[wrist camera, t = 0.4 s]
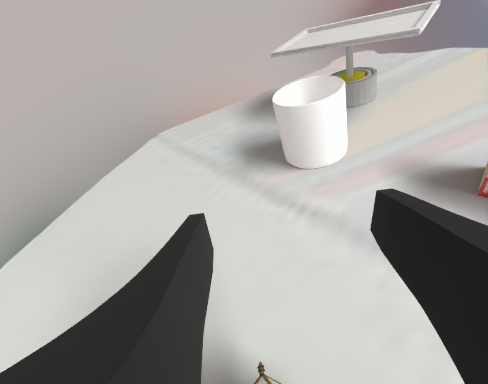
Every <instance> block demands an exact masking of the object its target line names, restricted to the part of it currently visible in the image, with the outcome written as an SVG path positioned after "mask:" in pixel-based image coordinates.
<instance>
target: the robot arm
mask: <svg viewBox="0 0 488 384" xmlns="http://www.w3.org/2000/svg"><path fill="white" fill-rule="evenodd" d="M370 230H371V232H372V234H373V236H374V238H375V240H376V242H377V244H378V245H379V247H380V249H381V251H382V252H383V254H384V255H385V256H386V258H387V259H388V261H389V262H390V263H391V265H392V266H393V268H394V269H395V270H396V272H397V273H398V274H399V276H400V277H401V279H402V280H403V281H404V283H405V284H406V285H407V287H408V288H409V290H410V291H411V292H412V294H413V295H414V296H415V298H416V299H417V301H418V302H419V304H420V305H421V307H422V308H423V310H424V311H425V313H426V315H427V316H428V318H429V320H430V321H431V323H432V325H433V326H434V328H435V330H436V332H437V333H438V335H439V337H440V338H441V340H442V342H443V344H444V346H445V348H446V349H447V351H448V353H449V355H450V357H451V358H452V360H453V362H454V364H455V366H456V367H457V369H458V371H459V373H460V375H461V377H462V379H463V381H464V383H465V384H488V226H487V225H484V224H482V223H479V222H476V221H473V220H471V219H468V218H465V217H463V216H460V215H457V214H455V213H452V212H450V211H447V210H445V209H442V208H440V207H437V206H435V205H433V204H430V203H428V202H425V201H423V200H421V199H418V198H416V197H413V196H411V195H408V194H406V193H403V192H400V191H398V190H395V189H385V190H377V191H376V197H375V204H374V210H373V216H372V223H371V229H370ZM212 273H213V246H212V242H211V238H210V235H209V231H208V227H207V223H206V220H205V216H204V213H201V214H193V215H189V216H188V218H187V219H186V220H185V221H184V222H183V224H182V225H181V226H180V227H179V229H178V230H177V231H176V232H175V234H174V235H173V236H172V237H171V238H170V240H169V241H168V242H167V243H166V244H165V245H164V247H163V248H162V249H161V250H160V251H159V252H158V253H157V254H156V255H155V256H154V257H153V259H152V260H151V261H150V262H149V263H148V264H147V265H146V266H145V267H144V268H143V269H142V270H141V271H140V272H139V273H138V274H137V275H136V276H135V277H134V278H133V279H131V280H130V281H129V282H128V283H127V284H126V285H125V286H124V287H123V288H121V289H120V290H119V291H118V292H117V293H115V294H114V295H113V296H112V297H110V298H109V299H108V300H107V301H106V302H104V303H103V304H102V305H101V306H99V307H98V308H97V309H96V310H94V311H93V312H92V313H90V314H89V315H88V316H86V317H85V318H84V319H82V320H81V321H79V322H78V323H77V324H75V325H74V326H73V327H71V328H70V329H68V330H67V331H65V332H64V333H62V334H61V335H60V336H58V337H57V338H55V339H54V340H52V341H51V342H49V343H48V344H46V345H45V346H43V347H41V348H40V349H38V350H37V351H35V352H33V353H32V354H30V355H29V356H27V357H26V358H24V359H22V360H21V361H19V362H18V363H16V364H14V365H13V366H11V367H10V368H8V369H6V370H5V371H3V372H1V373H0V384H201V366H202V348H203V333H204V324H205V317H206V311H207V305H208V299H209V292H210V286H211V279H212Z"/></svg>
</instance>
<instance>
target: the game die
mask: <svg viewBox="0 0 488 384" xmlns="http://www.w3.org/2000/svg"><path fill="white" fill-rule="evenodd" d="M257 368H258V370H259V371H258V372H259V373H260V376H259V378H258V379H257V380H256V382H255V383H254V384H281V383H279V382H277V381H275V380H273V379H272V378H270V377H268V376H266V375H265V374H264V371H265V369H264V366H263V364H262V363H261V361H260V363H259V366H258V367H257Z"/></svg>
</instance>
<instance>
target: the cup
mask: <svg viewBox="0 0 488 384" xmlns="http://www.w3.org/2000/svg"><path fill="white" fill-rule="evenodd" d="M272 103H273V107H274V111H275V116H276V120H277V124H278V129H279V133H280V138H281V142H282V146H283V151H284V155H285V158H286V160H287V162H288V163H289V164H291V165H292V166H295V167H298V168H303V169H316V168H321V167H325V166H328V165H331V164H333V163H335V162H336V161H338V160H339V159H341V158H342V157H343V156H344V155H345V153H346V151H347V118H346V89H345V81H344V80H343V79H341V78H340V77H337V76H328V75H326V76H315V77H310V78H305V79H302V80H299V81H296V82H293V83H291V84H289V85H287V86H285V87H283V88H281V89H280V90H278V91H277V92H276V93H275V95H274V96H273V98H272Z"/></svg>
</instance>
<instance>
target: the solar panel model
mask: <svg viewBox="0 0 488 384" xmlns="http://www.w3.org/2000/svg"><path fill="white" fill-rule="evenodd" d="M439 6H440V0H437V1H433V2H428V3H424V4H419V5H415V6H410V7H405V8H401V9H396V10H391V11H387V12H382V13H377V14H373V15H369V16H364V17H359V18H355V19H350V20H345V21H341V22H336V23H331V24H327V25H322V26H318V27H313V28H308V29H305V30H303V31H302V32H300V33H299V34H298V35H296V36H295V37H293V38H292V39H290V40H289V41H287V42H286V43H285V44H283V45H282V46H280V47H279V48H277V49H276V50H275V51H273V52H272V53H271V57H279V56H285V55H291V54H298V53H305V52H312V51H318V50H325V49H331V48H338V47H344V46H346V70H342V71H339V72H336V73H334V74H332V75H330V76H337V77H340V78H341V79H343V80H344V81H345V89H346V108H349V107H356V106H360V105H364V104H366V103H369V102H371V101H372V100H373V99H375V97H376V81H377V70H376V69H374V68H369V67H358V68H353V45H357V44H364V43H370V42H377V41H384V40H390V39H397V38H403V37H410V36H416V35H420V33H421V32H422V31H423V29H424V28H425V26H426V25H427V23H428V22H429V20H430V19H431V17H432V16H433V14H434V13H435V11H436V10H437V8H438V7H439ZM285 45H286V46H285Z"/></svg>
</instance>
